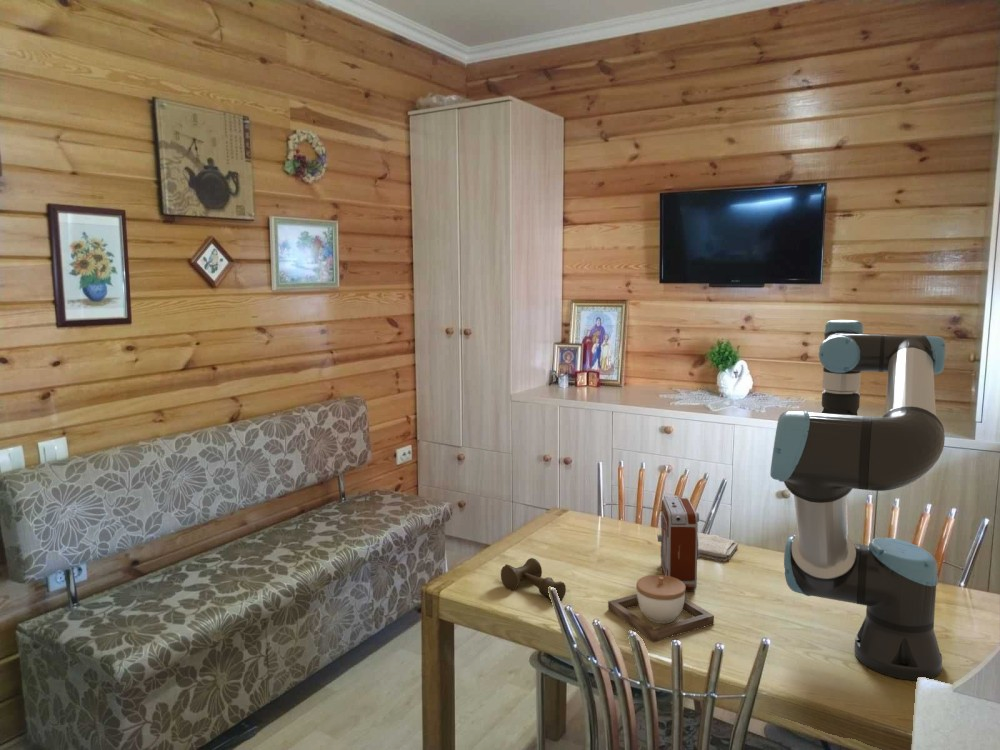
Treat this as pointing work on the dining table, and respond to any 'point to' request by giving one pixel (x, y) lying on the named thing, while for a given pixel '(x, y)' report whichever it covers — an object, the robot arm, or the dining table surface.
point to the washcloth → (715, 547)
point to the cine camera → (679, 540)
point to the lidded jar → (660, 597)
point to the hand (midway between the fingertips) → (836, 494)
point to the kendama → (530, 578)
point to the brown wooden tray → (662, 632)
